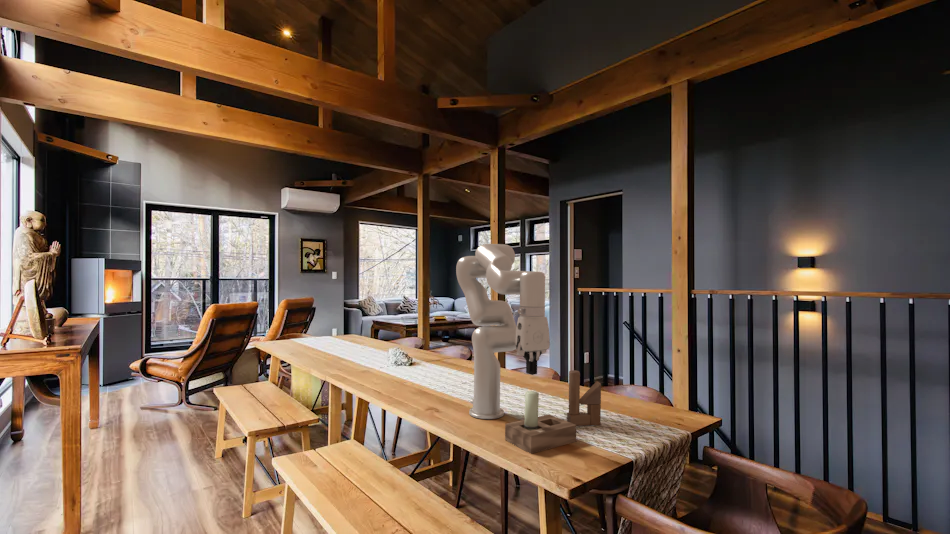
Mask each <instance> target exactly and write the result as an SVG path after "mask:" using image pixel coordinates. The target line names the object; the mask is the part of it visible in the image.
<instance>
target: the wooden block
mask: <svg viewBox="0 0 950 534" xmlns="http://www.w3.org/2000/svg"><path fill="white" fill-rule="evenodd" d="M580 377H581V373H580V371H579V370H575V369H573V370H569V372H568V412H566V421H567V422H570V423H573V424H575V425H576V427H581V426H588V425H589V426H591V425H594V426H600V425H601V424H602V423H601V421H602V420H601V417H602V416H601V415H602V414H601V412H602V411H601V410H602V408H601V407H602V405H601V404H602V403H601V402H602V383H601V382H599V381H597V380H596V381H595V382H594V384H592V385H591V386H590V387H589V389H587V391H586V392H585V393H584V394H583V395H581V396H580V394H581V393H580V391H581V387H580V383H581V378H580ZM580 405H581V406H583V405H586V409H587V410H586V412H582V411H580Z"/></svg>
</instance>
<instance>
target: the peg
mask: <svg viewBox="0 0 950 534" xmlns="http://www.w3.org/2000/svg"><path fill="white" fill-rule="evenodd" d="M524 394H525V395H524V420H525V421H524V428H525V429H527V430H529V431H531V430H535V429H538V417H539V400H540V397H539V396H540V395H539V391H535V390H534V391H532V390H530V391H529V390H527V391H525V392H524Z"/></svg>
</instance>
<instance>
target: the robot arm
mask: <svg viewBox="0 0 950 534" xmlns="http://www.w3.org/2000/svg"><path fill="white" fill-rule="evenodd" d="M514 250H515V249H513V247H512V246H511V245H508V244H503V243H483V244H481V245H479V246H478V247H477V248H476V250H475V252H474V253H475V255H466V256H462V257H461V258H459V259H458V260H457V263H456V268H455V269H456V270H455V271H456V272H455V273H456V278H457V282H458V285H459V287H460V288H461V290H462V292H463V294H464V297H465V301H466V306H467V310H468V314H469V317H470V321H471V322H472V324H473V325H474V326H479V327H477V328H476V329H474V331H473V332H472V335H471V343H472V349H473V398H471V399H470V401H469V403H470V404H472V407H471V408H469V411H468V412H469V413H468V414H469V416H471V417H473V418H476V419H482V420H494V419H501V418H502V417H504V416H505V411H504V409H503V408H502V407H501V363H500V361H499V359H498V358H497V356H496V355H495V353H503V352H505V353H507V352H513V351H515V350H516V355H517V356H522V357H523V359H524V361H525V373H526V374H528V375H530V376H531V375H532V376H534V375H538V361H540V357H541V356H542V355H543V354H545V353H547V350H549V348H550V345H551V344H550V327H549V322H548V321H549V320H548V318H547V316H546V312H545V311H546V275H545V273H544V272H542V271H534V270H533V271H530V270H529V271H528V270H512V268H513V264H514V263H515V260H516V254H515V251H514ZM477 279H486V282H487V285H488V286H489V287H490V288H491V289H492V290H493V291H494V292H495V293H497V294H499V295H506V296H507V295H512V296H513V295H515V296H516V295H518V296H519V308H518V309H517V313H518V314H519V316H518V318H517V322H516V320H515V317H514V315H513V311H512V308H511V306H510V304H508V302H507V301H504V300H497V299H495V300H492V299H490V298H489V295H488V291H487V290H486V287H485V285H483V284H482V283H481V282H480V281H478V280H477Z"/></svg>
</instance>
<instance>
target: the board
mask: <svg viewBox="0 0 950 534" xmlns="http://www.w3.org/2000/svg"><path fill="white" fill-rule="evenodd" d="M524 421H525V419H521V420H518V421H512V422H509V423H505V424H504V433H505V434H504V440H507V441H508V443H509V442H510V443H509V444H511V443H512V444H511V445H513V444H514V446H515V445H516V446H515V447H517V448H519V449H521V450H523V451H525V452H527V453H528V452H529V453H528V454H530V453H531V454H536V453H539V452H542V451H546V450H550V449H554V448H557V447H561V446H564V445H568V444H572V443H575V442H577V426H576V425H575V424H573V423H570V422H567V420H565V419H562V418H560V417H557V416H554V415H552V414H545V415H540V416H539V415H538V429H535V430H531V431H529V430H527V429H525V428H524ZM507 441H506V442H507ZM531 454H530V455H531Z"/></svg>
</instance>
